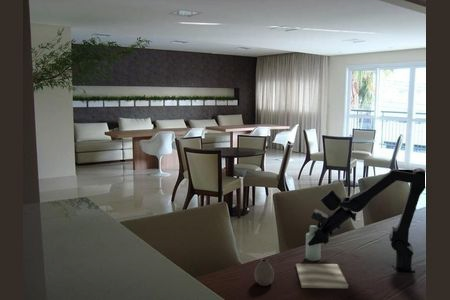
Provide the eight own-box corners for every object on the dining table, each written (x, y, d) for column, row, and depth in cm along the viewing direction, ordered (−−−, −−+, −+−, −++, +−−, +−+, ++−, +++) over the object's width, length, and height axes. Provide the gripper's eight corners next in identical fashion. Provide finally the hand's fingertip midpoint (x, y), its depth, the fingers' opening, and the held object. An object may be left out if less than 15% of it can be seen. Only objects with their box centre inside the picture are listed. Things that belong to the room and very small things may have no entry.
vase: (277, 283, 145) (277, 259, 144) (266, 289, 140) (265, 265, 139) (262, 277, 149) (262, 255, 148) (250, 284, 144) (250, 260, 143)
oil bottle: (321, 260, 164) (321, 228, 162) (306, 260, 164) (306, 228, 162) (319, 255, 170) (319, 224, 168) (304, 255, 170) (305, 224, 168)
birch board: (348, 288, 140) (348, 285, 139) (301, 287, 141) (301, 284, 140) (337, 266, 157) (337, 264, 157) (296, 266, 158) (296, 263, 158)
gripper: (326, 198, 171) (300, 221, 176) (320, 209, 154) (291, 234, 159) (345, 218, 169) (318, 240, 175) (341, 231, 152) (311, 256, 157)
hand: (309, 242), depth 166 cm, fingers closed on oil bottle, 6 cm apart
